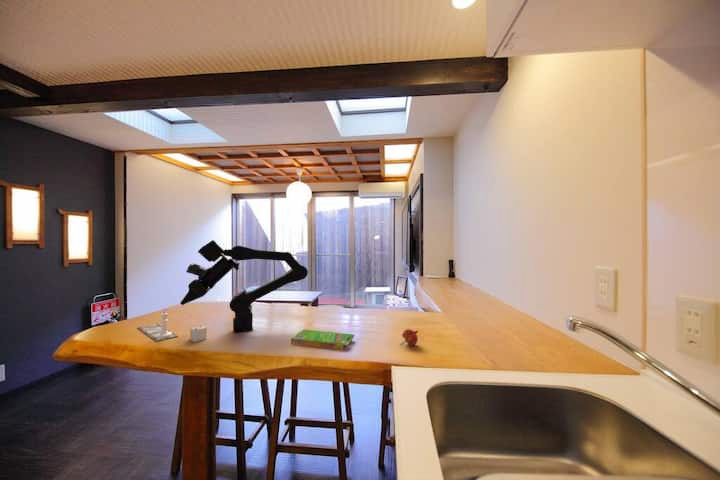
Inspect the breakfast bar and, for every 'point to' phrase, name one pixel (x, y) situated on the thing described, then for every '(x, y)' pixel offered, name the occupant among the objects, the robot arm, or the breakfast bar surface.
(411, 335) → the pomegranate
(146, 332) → the track board
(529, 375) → the breakfast bar surface
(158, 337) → the chess piece
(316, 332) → the game box
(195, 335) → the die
